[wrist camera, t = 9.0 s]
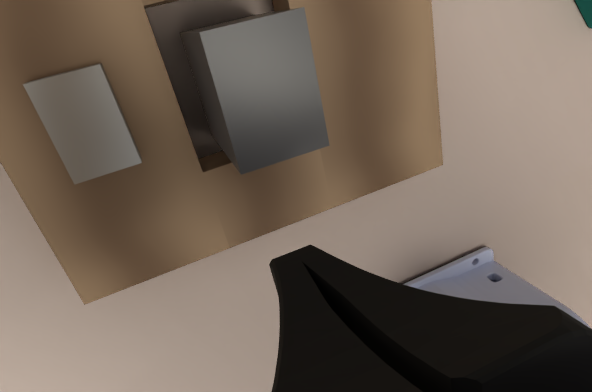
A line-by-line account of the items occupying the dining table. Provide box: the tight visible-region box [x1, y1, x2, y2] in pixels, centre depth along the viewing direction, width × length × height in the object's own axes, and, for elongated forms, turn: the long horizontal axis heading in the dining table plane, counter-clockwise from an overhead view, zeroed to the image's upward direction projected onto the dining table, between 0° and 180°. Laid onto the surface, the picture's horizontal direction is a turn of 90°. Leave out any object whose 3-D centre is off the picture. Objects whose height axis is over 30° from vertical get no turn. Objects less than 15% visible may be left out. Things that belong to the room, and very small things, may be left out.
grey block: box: [180, 7, 330, 175], centre depth 15 cm, size 3×4×6 cm
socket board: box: [0, 0, 443, 305], centre depth 17 cm, size 18×14×3 cm
